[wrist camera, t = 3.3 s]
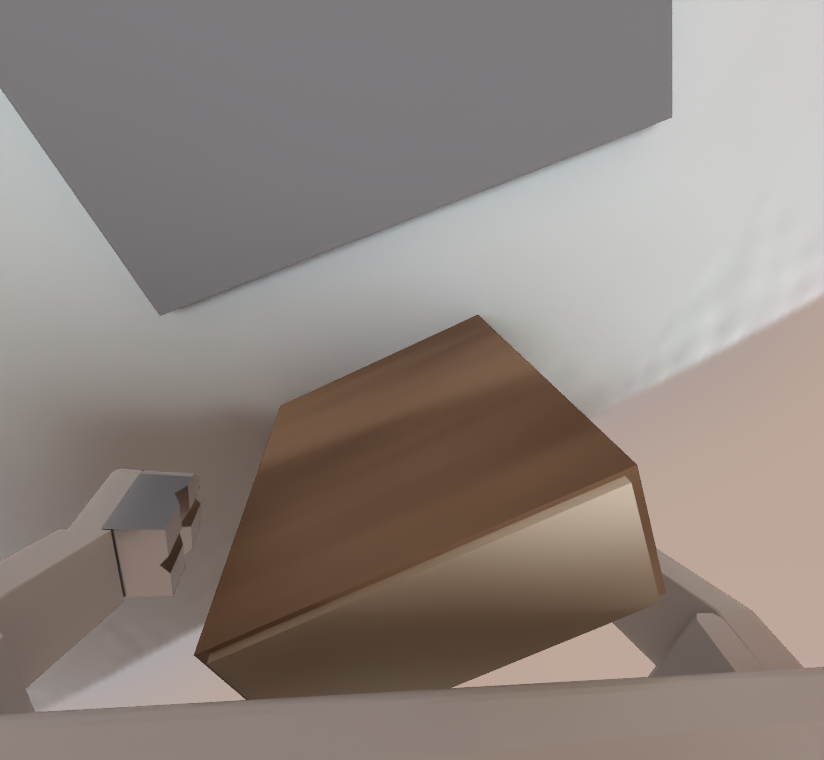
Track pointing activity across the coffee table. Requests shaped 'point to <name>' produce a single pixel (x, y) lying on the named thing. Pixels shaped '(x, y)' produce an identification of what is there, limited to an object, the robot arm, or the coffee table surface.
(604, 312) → the coffee table surface
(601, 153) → the coffee table surface
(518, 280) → the coffee table surface
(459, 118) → the mat
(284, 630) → the wooden block
